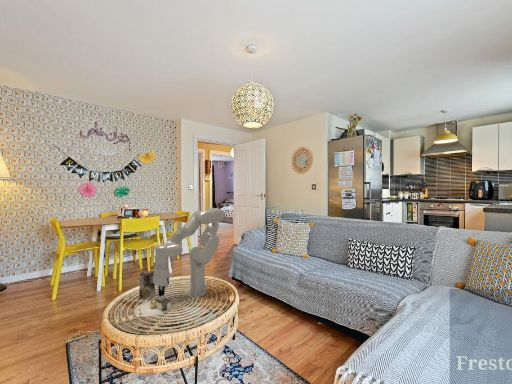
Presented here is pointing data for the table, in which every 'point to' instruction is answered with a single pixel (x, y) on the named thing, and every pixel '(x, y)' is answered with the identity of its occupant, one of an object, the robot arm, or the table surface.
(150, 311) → the dial plate
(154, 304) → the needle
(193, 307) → the table surface
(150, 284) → the coffee box
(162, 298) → the lock button
